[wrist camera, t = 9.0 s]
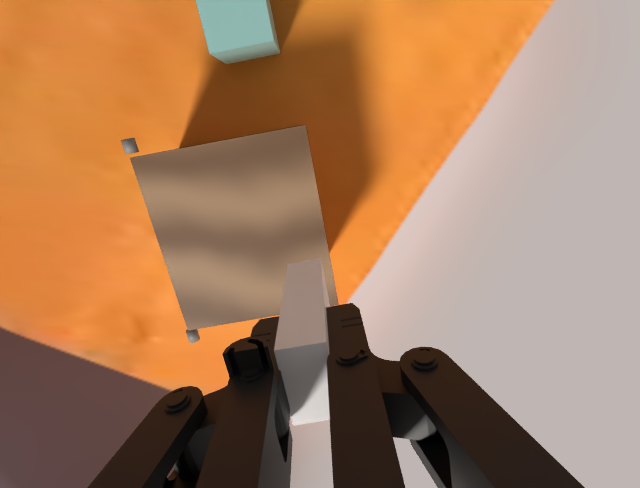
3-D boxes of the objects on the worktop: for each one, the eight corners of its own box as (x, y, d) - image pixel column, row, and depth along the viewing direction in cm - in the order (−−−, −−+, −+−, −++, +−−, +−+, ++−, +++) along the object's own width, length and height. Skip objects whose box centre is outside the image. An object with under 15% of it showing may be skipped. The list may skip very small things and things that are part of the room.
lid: (135, 156, 28) (130, 158, 27) (305, 124, 27) (305, 124, 26) (191, 325, 32) (188, 330, 31) (337, 300, 32) (338, 304, 31)
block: (211, 2, 33) (190, -23, 27) (267, -10, 32) (258, -37, 27) (226, 64, 34) (209, 53, 28) (280, 53, 34) (273, 40, 28)
